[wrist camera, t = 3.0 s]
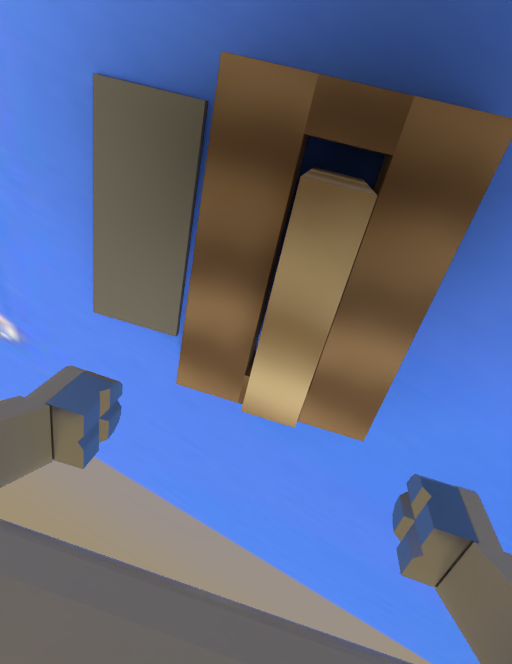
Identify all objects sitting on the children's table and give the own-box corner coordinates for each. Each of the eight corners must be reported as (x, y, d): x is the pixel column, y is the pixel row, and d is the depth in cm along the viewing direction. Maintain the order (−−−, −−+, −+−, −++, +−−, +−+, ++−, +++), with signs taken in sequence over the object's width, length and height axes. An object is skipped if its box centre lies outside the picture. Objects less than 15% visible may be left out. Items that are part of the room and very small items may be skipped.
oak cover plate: (314, 166, 22) (300, 176, 14) (363, 179, 22) (377, 195, 14) (268, 336, 28) (241, 411, 20) (307, 347, 27) (294, 427, 19)
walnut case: (238, 66, 20) (221, 51, 17) (491, 125, 19) (520, 119, 16) (192, 359, 30) (176, 383, 27) (360, 410, 29) (363, 441, 26)
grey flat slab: (98, 74, 22) (93, 73, 21) (208, 101, 21) (205, 100, 21) (97, 309, 30) (93, 312, 29) (178, 333, 29) (175, 336, 29)
